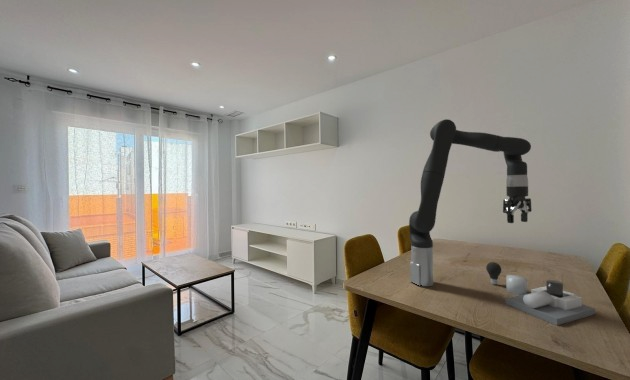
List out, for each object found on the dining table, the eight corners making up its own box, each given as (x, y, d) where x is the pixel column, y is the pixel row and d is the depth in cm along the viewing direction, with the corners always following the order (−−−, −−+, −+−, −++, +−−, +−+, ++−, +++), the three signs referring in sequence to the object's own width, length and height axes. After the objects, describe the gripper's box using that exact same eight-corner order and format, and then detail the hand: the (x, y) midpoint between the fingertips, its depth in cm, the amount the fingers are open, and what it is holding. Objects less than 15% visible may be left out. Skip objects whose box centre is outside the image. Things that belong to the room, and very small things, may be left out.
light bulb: (497, 287, 112) (497, 265, 111) (483, 283, 117) (483, 261, 116) (504, 285, 114) (504, 262, 114) (490, 281, 119) (490, 259, 119)
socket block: (556, 325, 82) (556, 305, 81) (505, 303, 97) (505, 287, 97) (595, 314, 88) (594, 295, 88) (541, 295, 103) (541, 279, 103)
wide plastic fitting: (519, 296, 103) (519, 281, 103) (502, 290, 109) (502, 276, 109) (531, 293, 105) (531, 279, 105) (513, 287, 111) (513, 274, 111)
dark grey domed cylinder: (558, 305, 91) (558, 285, 90) (543, 300, 95) (543, 281, 95) (566, 303, 92) (565, 283, 92) (551, 298, 96) (551, 279, 96)
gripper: (514, 185, 107) (515, 224, 107) (537, 185, 111) (538, 222, 111) (496, 186, 114) (497, 222, 114) (519, 185, 118) (519, 220, 118)
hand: (517, 222), depth 113 cm, fingers open, 8 cm apart
